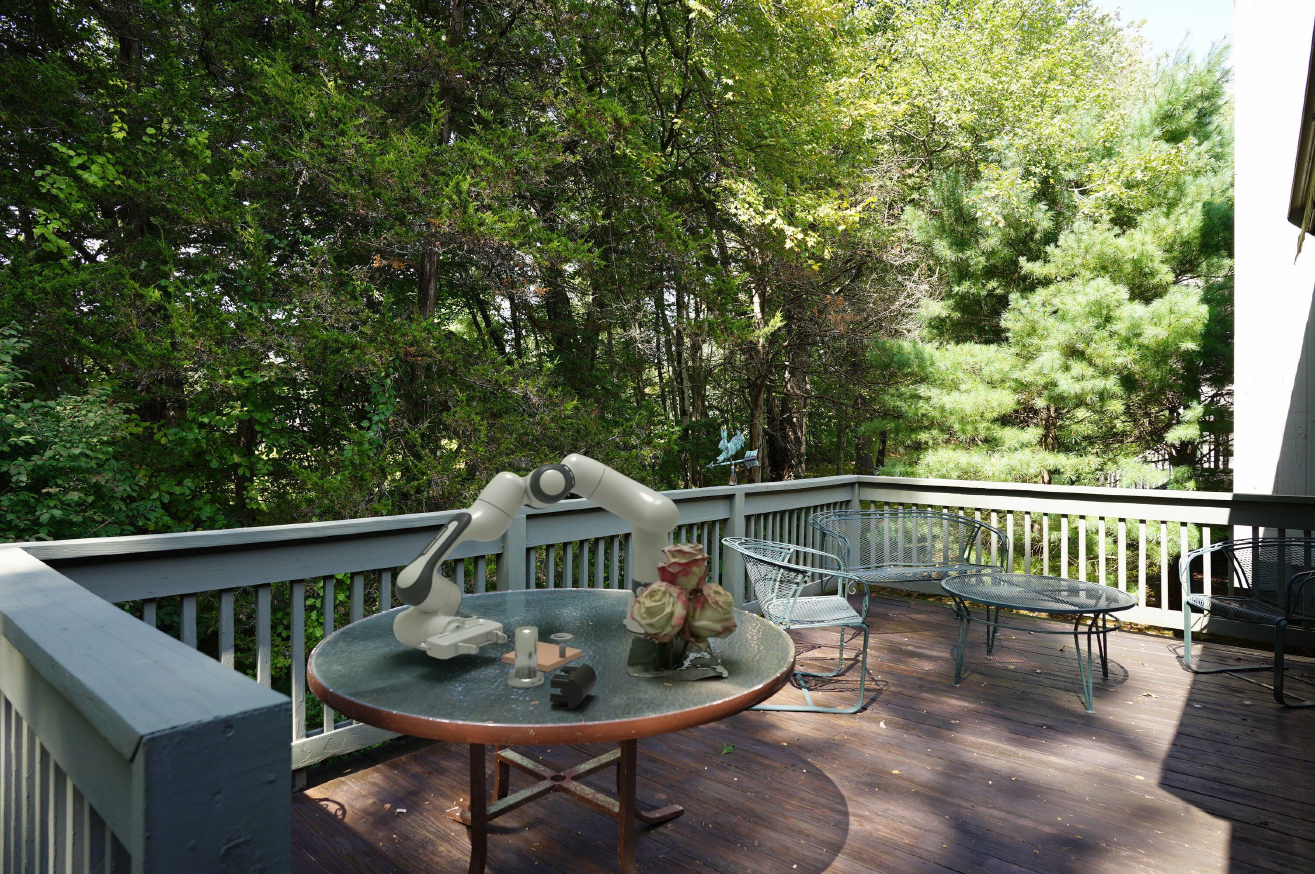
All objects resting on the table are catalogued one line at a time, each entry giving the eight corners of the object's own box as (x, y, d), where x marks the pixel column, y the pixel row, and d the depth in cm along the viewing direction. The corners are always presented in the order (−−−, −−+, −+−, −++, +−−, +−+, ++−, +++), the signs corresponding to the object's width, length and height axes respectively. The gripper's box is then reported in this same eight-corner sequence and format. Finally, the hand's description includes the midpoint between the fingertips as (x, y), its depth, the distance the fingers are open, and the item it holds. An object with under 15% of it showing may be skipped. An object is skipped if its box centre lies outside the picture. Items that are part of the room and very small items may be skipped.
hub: (523, 673, 166) (524, 622, 166) (551, 680, 162) (551, 627, 162) (500, 684, 159) (501, 630, 159) (528, 691, 155) (529, 636, 155)
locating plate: (538, 647, 187) (538, 630, 187) (582, 655, 180) (582, 638, 180) (502, 661, 175) (502, 643, 175) (547, 671, 168) (548, 652, 168)
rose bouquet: (622, 683, 161) (624, 550, 161) (639, 645, 190) (641, 532, 190) (736, 689, 159) (738, 554, 158) (736, 649, 188) (738, 535, 187)
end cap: (582, 712, 144) (582, 679, 144) (549, 709, 145) (549, 676, 145) (596, 695, 154) (597, 663, 154) (565, 692, 155) (565, 661, 155)
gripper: (414, 632, 164) (458, 642, 157) (477, 613, 182) (519, 620, 175) (414, 660, 164) (458, 670, 157) (477, 638, 182) (519, 646, 175)
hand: (491, 644), depth 166 cm, fingers open, 8 cm apart
